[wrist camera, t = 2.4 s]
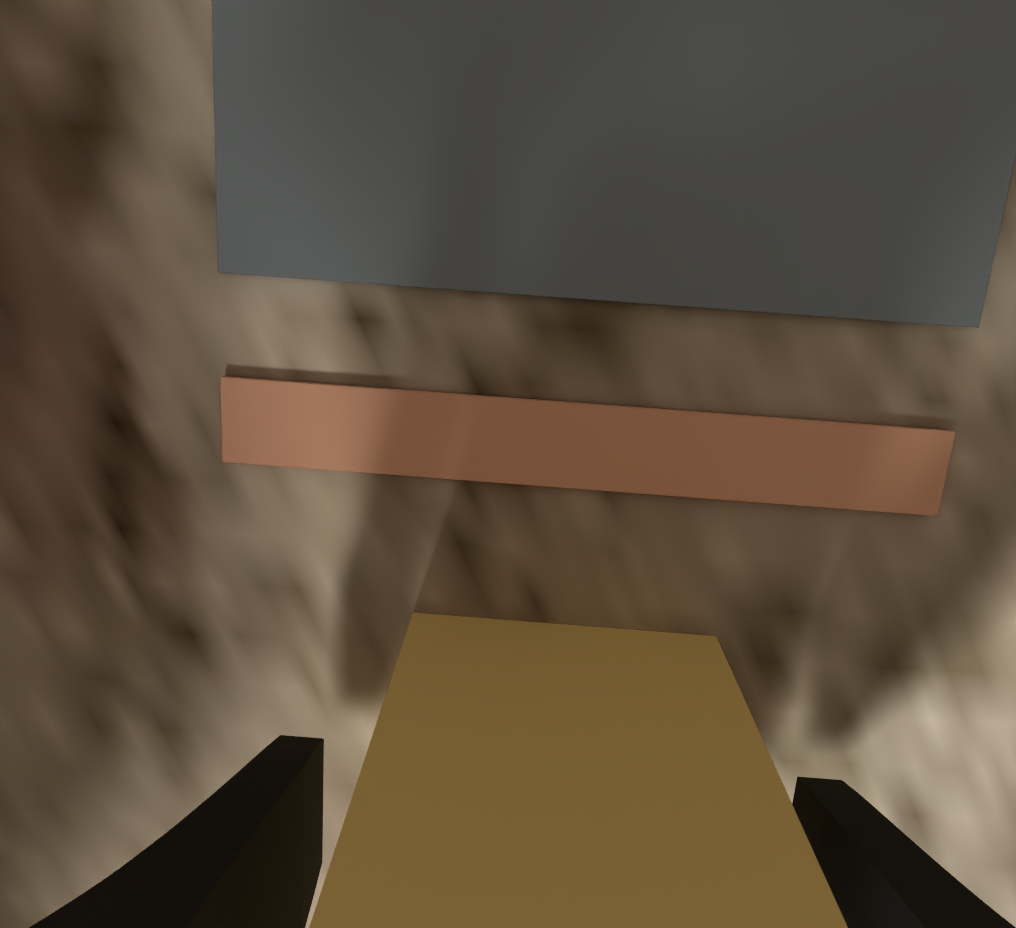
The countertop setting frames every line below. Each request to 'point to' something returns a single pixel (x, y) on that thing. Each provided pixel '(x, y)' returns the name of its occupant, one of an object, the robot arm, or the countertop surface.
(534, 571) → the countertop surface
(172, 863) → the robot arm
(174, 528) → the countertop surface
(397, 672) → the mustard block
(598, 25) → the mat
